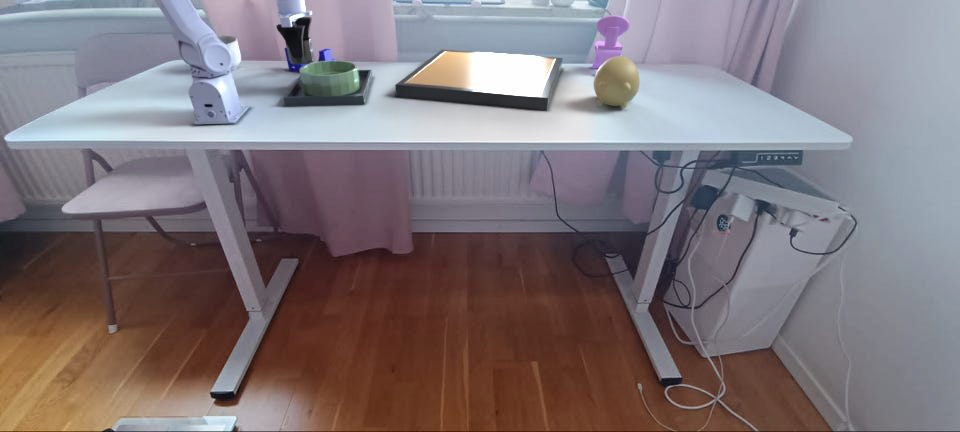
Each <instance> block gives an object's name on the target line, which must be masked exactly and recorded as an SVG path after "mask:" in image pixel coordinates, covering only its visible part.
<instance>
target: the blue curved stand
mask: <svg viewBox="0 0 960 432" xmlns="http://www.w3.org/2000/svg"><path fill="white" fill-rule="evenodd" d="M284 53H285V57H286V63H287V66H288V71H289V72H294V73H295V72H296V73H300V71H299V69H300V68H301V67H302V66H304V65H307V64H300V65H299V64H292V63H291V61H289V56H288V52H287V47H286V46H285V47H284ZM335 60H336V59H335V58H332V51H331V48H324V49H321V50H318V60H317V62H320V61H335ZM309 64H310V63H309Z"/></svg>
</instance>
